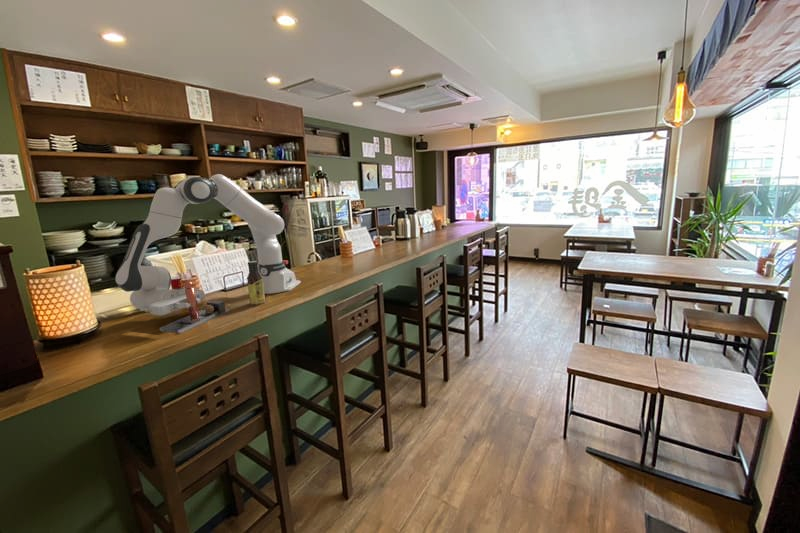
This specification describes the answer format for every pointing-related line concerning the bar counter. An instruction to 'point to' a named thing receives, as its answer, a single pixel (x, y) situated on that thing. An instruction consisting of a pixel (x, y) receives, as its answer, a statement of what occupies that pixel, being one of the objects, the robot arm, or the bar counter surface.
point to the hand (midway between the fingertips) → (194, 303)
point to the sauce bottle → (255, 284)
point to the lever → (192, 304)
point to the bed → (182, 326)
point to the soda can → (175, 282)
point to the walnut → (208, 309)
